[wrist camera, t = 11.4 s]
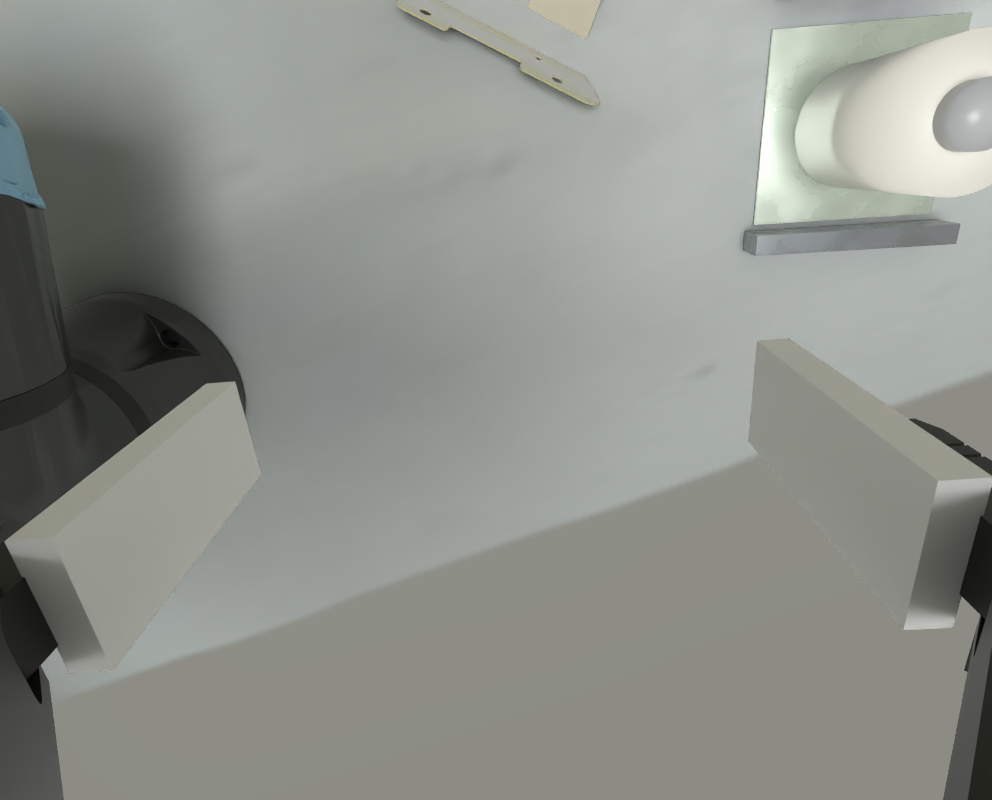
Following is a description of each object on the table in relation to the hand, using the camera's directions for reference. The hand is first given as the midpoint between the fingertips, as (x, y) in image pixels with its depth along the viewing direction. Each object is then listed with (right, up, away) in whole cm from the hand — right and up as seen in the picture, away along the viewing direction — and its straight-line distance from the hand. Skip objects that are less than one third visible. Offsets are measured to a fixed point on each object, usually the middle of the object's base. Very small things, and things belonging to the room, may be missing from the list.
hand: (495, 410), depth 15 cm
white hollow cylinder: (+22, +17, +21) cm, 35 cm away
